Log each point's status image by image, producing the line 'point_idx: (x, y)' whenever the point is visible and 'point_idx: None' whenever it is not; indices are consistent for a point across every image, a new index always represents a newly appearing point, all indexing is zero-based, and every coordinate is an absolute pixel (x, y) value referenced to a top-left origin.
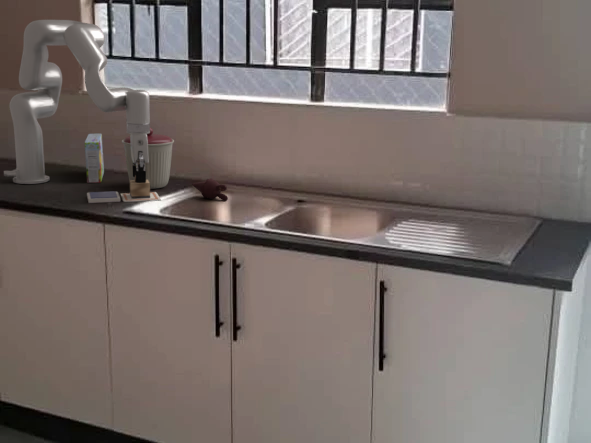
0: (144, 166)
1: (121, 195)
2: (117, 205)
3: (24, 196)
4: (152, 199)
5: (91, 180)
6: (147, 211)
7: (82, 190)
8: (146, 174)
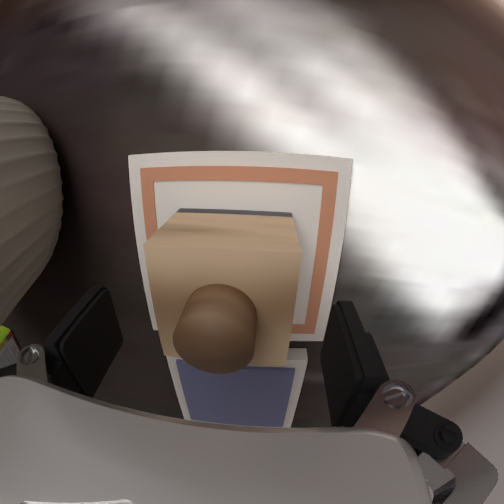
0: (405, 424)
1: None
2: None
3: None
4: (338, 207)
5: (17, 354)
6: (497, 268)
7: (102, 395)
8: (23, 236)
